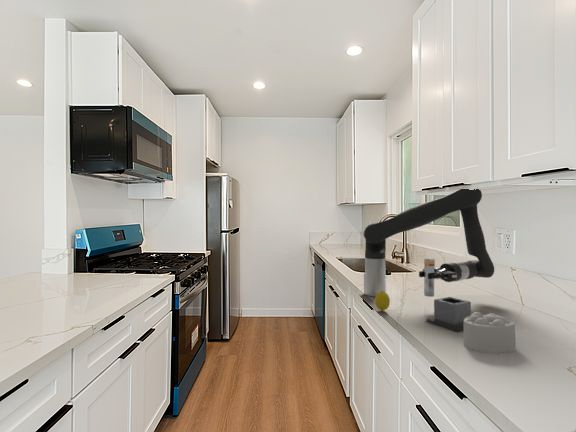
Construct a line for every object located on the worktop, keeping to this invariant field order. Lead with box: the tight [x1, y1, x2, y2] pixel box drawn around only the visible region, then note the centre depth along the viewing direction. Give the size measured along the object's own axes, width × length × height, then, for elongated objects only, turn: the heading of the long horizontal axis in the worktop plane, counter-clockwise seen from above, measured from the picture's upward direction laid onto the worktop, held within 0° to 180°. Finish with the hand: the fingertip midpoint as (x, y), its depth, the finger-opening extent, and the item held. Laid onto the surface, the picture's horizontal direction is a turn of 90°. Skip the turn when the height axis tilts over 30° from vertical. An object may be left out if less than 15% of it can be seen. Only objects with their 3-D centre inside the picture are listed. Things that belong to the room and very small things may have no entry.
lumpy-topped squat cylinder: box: [463, 311, 517, 354], centre depth 96 cm, size 10×13×9 cm
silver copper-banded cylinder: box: [423, 258, 436, 298], centre depth 130 cm, size 4×4×14 cm
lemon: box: [374, 291, 391, 312], centre depth 131 cm, size 6×6×8 cm
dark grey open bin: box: [426, 296, 472, 333], centre depth 115 cm, size 12×11×8 cm
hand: (424, 275), depth 129 cm, fingers closed on silver copper-banded cylinder, 3 cm apart
